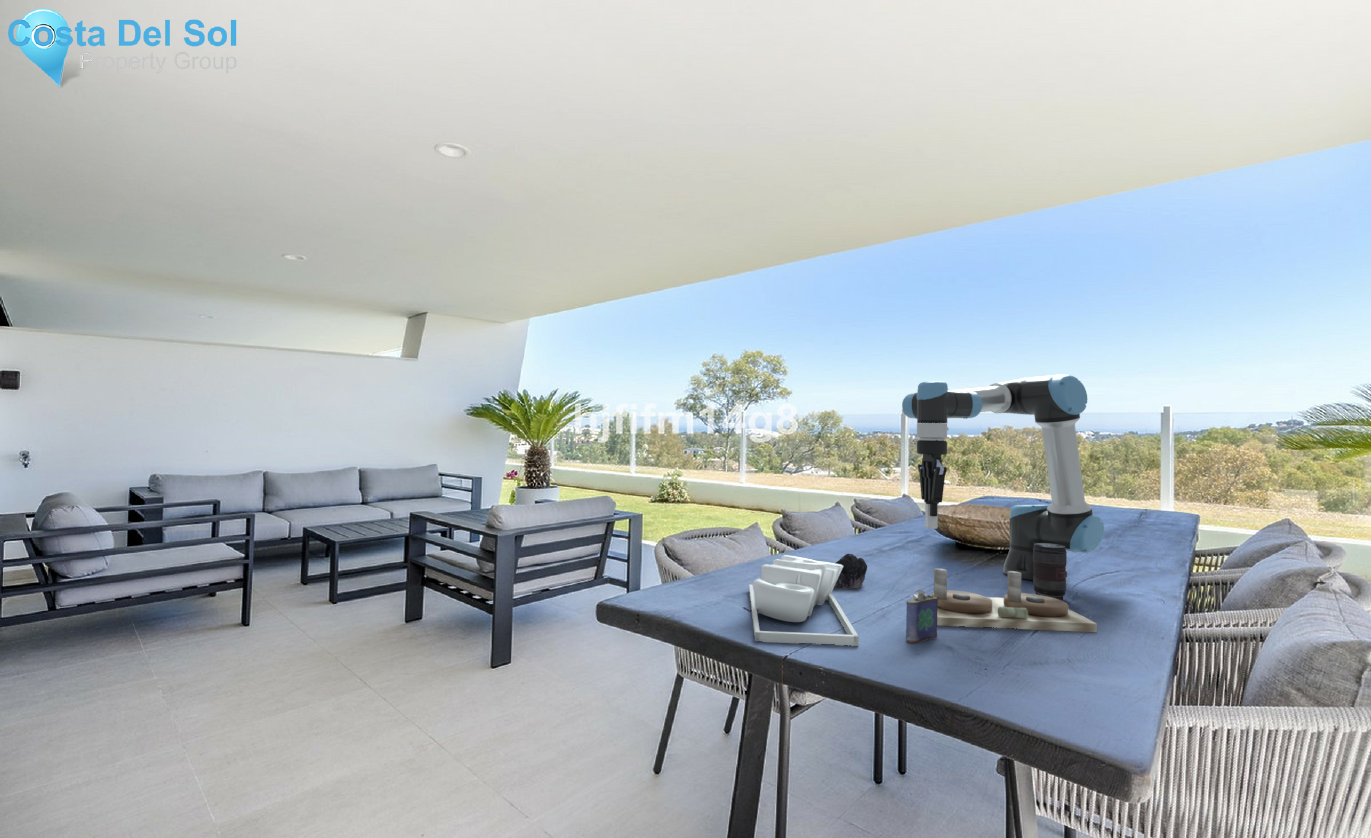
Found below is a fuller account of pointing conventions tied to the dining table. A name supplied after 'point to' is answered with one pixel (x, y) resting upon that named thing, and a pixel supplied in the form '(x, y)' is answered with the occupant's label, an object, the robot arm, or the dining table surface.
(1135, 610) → the dining table surface
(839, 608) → the white rectangular frame
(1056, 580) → the camera lens
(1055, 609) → the dial
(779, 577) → the wavy white extrusion
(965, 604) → the dial
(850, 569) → the crystal cluster
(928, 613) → the flask
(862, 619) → the dining table surface
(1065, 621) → the base
